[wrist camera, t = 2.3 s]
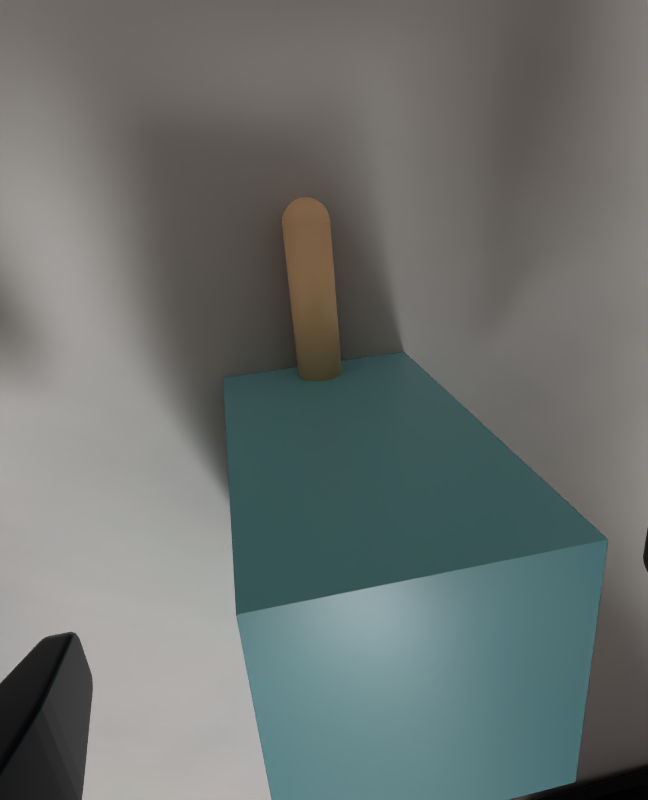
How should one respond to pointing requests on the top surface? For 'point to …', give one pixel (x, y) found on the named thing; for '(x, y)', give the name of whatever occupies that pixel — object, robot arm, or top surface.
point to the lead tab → (398, 574)
